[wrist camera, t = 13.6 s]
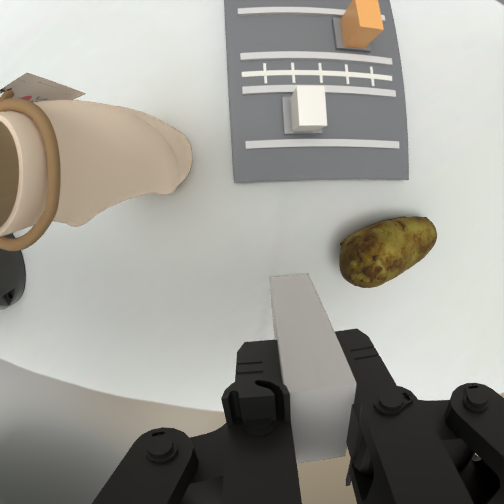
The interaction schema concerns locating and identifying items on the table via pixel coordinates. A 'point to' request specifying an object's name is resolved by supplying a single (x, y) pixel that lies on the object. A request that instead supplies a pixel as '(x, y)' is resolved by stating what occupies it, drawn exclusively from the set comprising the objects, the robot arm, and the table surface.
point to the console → (312, 74)
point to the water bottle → (77, 158)
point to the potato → (385, 250)
